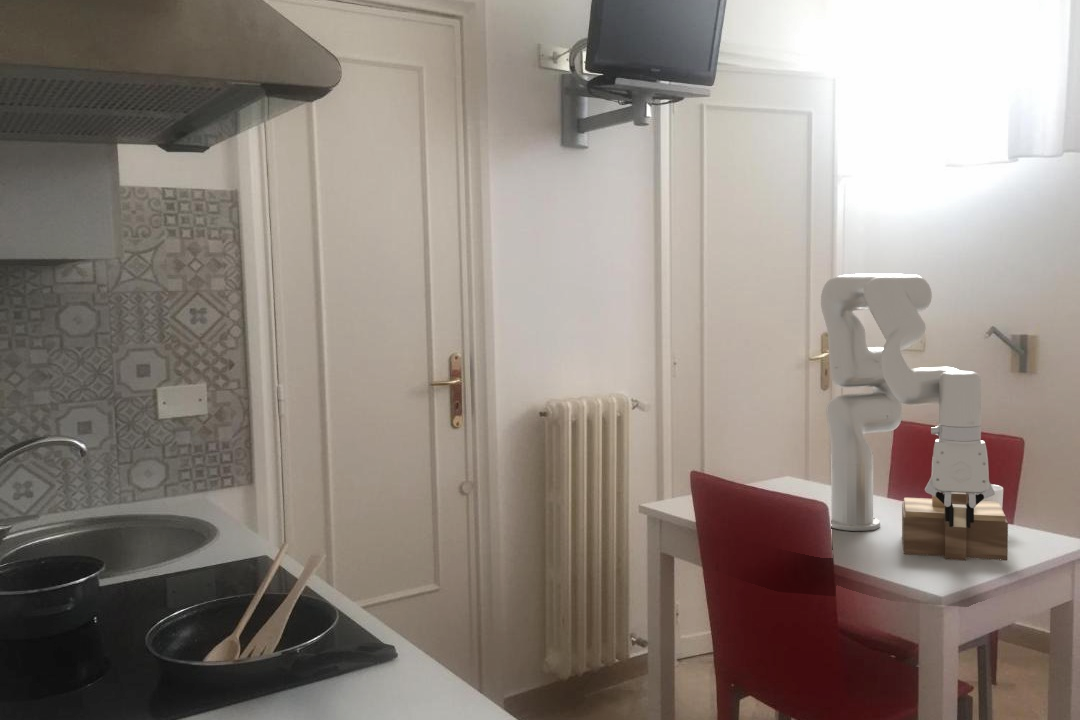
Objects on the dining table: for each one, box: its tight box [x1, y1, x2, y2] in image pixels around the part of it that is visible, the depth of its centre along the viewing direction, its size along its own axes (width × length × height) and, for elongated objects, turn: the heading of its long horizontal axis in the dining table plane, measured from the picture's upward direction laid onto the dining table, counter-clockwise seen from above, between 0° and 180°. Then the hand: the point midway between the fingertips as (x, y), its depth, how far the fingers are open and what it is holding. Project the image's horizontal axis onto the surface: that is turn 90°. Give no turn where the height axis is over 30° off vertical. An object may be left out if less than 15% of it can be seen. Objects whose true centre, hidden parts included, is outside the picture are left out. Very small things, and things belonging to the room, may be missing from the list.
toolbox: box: [901, 492, 1009, 562], centre depth 200 cm, size 16×20×14 cm
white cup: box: [975, 483, 1004, 510], centre depth 216 cm, size 8×8×10 cm
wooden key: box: [952, 504, 967, 527], centre depth 187 cm, size 9×2×4 cm, turn 160°
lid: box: [903, 492, 1007, 522], centre depth 201 cm, size 13×19×6 cm
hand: (959, 524), depth 184 cm, fingers closed on wooden key, 2 cm apart
